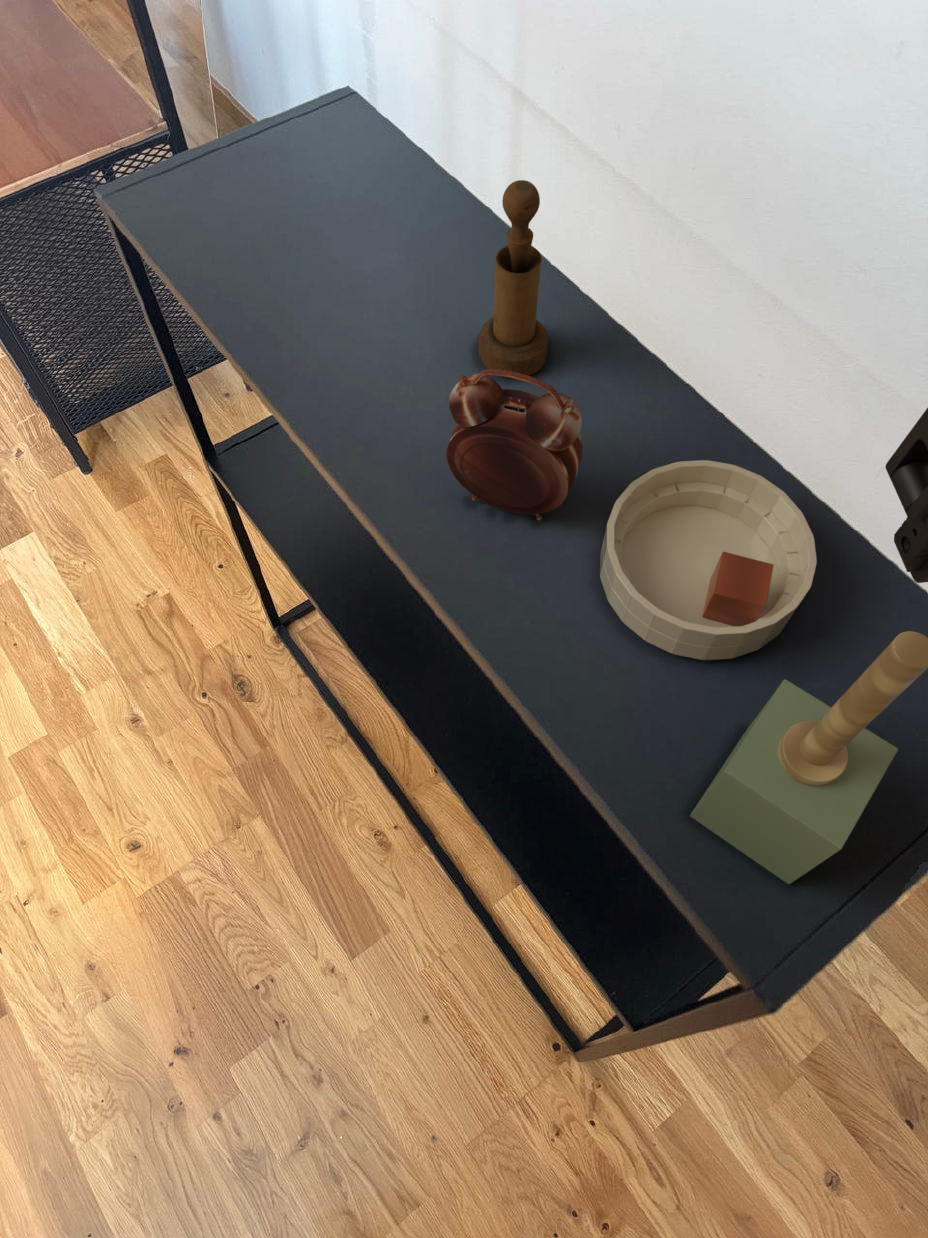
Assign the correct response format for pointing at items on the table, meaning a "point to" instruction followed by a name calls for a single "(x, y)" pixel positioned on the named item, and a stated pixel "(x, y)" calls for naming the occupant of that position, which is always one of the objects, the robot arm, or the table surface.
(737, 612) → the block
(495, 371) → the alarm clock
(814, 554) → the bowl
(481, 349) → the mortar and pestle
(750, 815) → the stand
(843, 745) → the stick
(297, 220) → the table surface
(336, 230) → the table surface
